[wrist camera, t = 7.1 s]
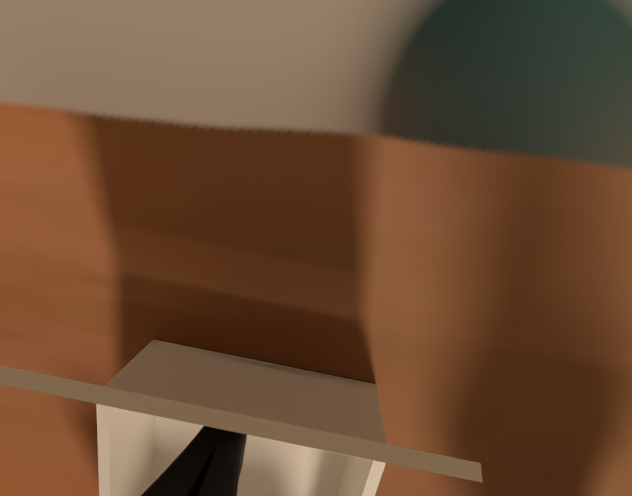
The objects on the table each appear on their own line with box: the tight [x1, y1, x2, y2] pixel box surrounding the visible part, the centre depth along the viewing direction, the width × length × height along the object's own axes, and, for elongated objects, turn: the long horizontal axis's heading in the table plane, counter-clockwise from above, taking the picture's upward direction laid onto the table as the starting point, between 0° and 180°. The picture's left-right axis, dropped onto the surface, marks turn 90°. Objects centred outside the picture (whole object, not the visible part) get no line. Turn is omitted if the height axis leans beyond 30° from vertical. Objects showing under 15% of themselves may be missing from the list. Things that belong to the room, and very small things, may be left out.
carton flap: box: [0, 365, 483, 483], centre depth 10 cm, size 7×14×1 cm
